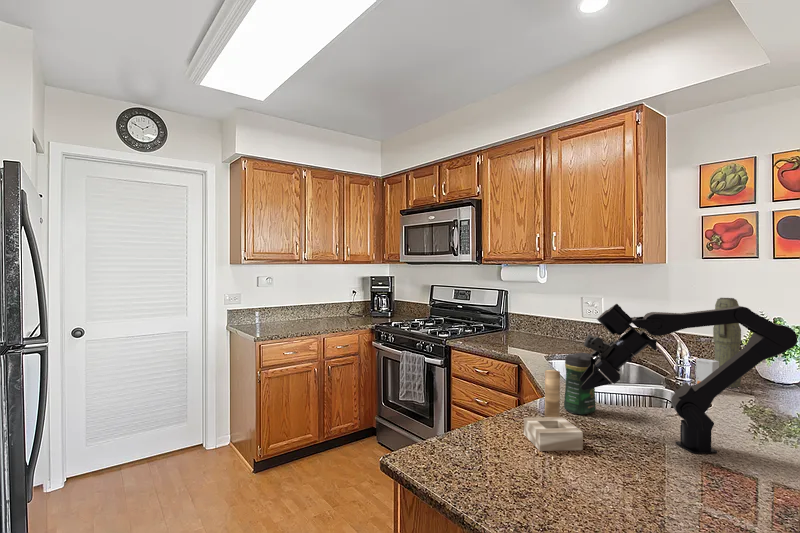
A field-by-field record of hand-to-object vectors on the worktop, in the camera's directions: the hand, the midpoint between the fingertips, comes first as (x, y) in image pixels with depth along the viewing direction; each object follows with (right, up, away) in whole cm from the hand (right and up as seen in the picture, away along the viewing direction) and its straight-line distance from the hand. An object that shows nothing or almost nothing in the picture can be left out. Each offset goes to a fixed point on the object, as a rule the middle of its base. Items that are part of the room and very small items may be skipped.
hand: (581, 384), depth 119 cm
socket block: (-11, -13, -7) cm, 18 cm away
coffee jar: (+7, -14, +18) cm, 24 cm away
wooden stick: (-7, -13, +4) cm, 15 cm away
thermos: (+80, -15, +52) cm, 97 cm away
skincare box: (+66, -15, +43) cm, 80 cm away
